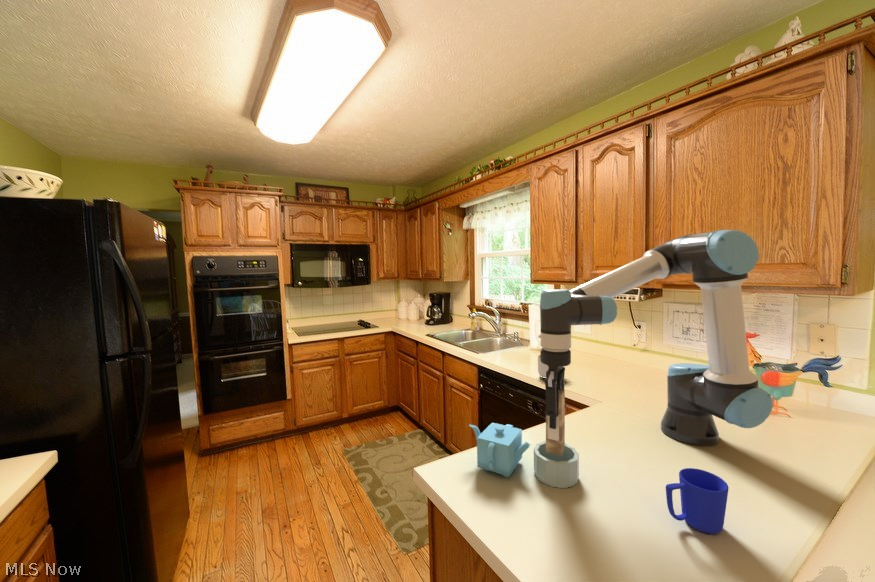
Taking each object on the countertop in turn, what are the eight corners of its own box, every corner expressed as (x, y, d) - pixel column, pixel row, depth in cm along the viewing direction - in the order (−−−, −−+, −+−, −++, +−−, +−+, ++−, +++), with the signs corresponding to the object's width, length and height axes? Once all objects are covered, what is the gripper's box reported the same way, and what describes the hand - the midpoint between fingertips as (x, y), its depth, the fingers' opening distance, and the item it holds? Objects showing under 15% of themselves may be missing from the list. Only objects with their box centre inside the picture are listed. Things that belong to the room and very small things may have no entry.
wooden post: (564, 448, 90) (564, 390, 89) (561, 455, 86) (561, 395, 86) (549, 444, 92) (549, 387, 91) (545, 451, 89) (545, 392, 88)
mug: (652, 513, 75) (653, 470, 74) (702, 509, 76) (703, 466, 75) (682, 543, 67) (683, 495, 66) (738, 537, 68) (739, 490, 67)
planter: (542, 373, 177) (542, 352, 177) (566, 376, 170) (566, 355, 169) (534, 379, 167) (534, 358, 167) (559, 384, 160) (559, 361, 159)
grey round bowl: (581, 470, 92) (581, 447, 91) (574, 493, 82) (574, 468, 82) (540, 459, 97) (540, 437, 97) (529, 480, 88) (529, 456, 87)
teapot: (520, 491, 83) (520, 447, 83) (457, 470, 93) (456, 431, 92) (538, 460, 97) (538, 422, 96) (481, 444, 106) (480, 410, 106)
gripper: (548, 341, 97) (548, 419, 98) (532, 354, 82) (532, 446, 84) (575, 343, 93) (575, 425, 94) (564, 357, 78) (564, 454, 80)
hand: (555, 435), depth 89 cm, fingers closed on wooden post, 4 cm apart
